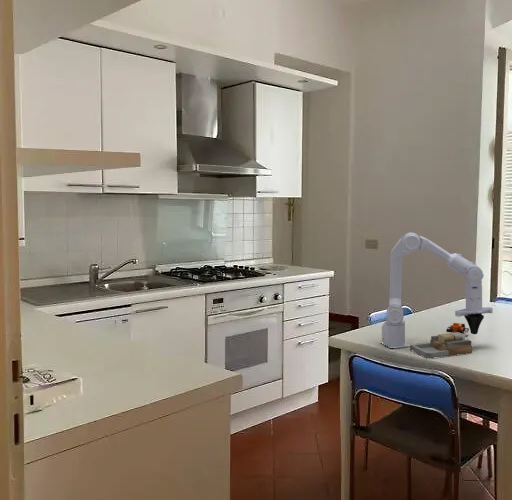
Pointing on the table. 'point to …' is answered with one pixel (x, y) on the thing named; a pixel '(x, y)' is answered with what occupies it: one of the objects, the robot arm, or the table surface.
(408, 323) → the table surface
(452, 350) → the slot block
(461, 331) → the toy
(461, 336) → the grey block
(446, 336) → the tan wooden block
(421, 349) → the tray
